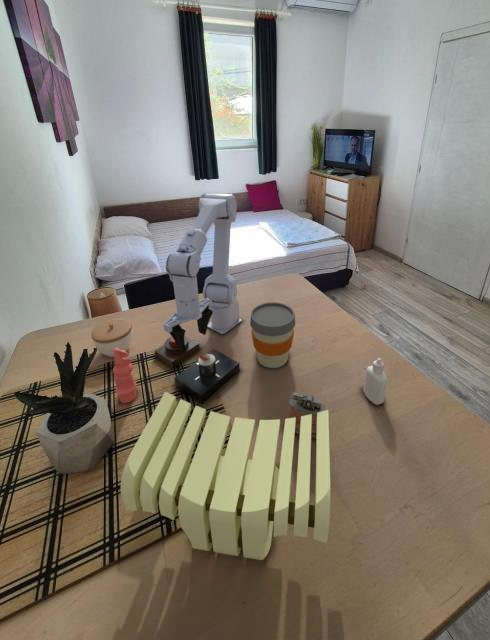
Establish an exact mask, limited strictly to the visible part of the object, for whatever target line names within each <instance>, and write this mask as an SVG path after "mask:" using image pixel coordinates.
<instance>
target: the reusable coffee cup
mask: <svg viewBox="0 0 490 640" xmlns="http://www.w3.org/2000/svg"><path fill="white" fill-rule="evenodd" d="M249 325H250V327H251V330H250V332H251V338H252V344H253V348H254V349H255V352H256V358H257V361H258V363H259V364H260V365H261V366H263V367H266V368H268V369H276V368H280V367H283V366H284V365H285V364H286V363H287V362H288V360H289V354H290V351H291V348H292V346H293V340H294V335H295V329H294V328H295V327H296V314H295V310H294V309H293V308H292V307H291V306H289V305H287V304H285V303H282V302H276V301H270V302H264V303H260V304H258V305H256V306H255V307H254V308H253V309H252V310H251V312H250V319H249Z"/></svg>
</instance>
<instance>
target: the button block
mask: <svg viewBox="0 0 490 640" xmlns="http://www.w3.org/2000/svg"><path fill="white" fill-rule="evenodd" d="M184 342H185V349H183V350H181V349H180V348H178V347H172V346H171V345H170V337H168V338H167V339H166V340H165V342H164V344H163V345H161V346H160V347H158V348H157V349H155V350H154V357H155V358H157V359H158V360H160V361H161V362H163V363H165V364H166V365H167V366H169V367H170V368H172V369H174V368H175V367H177V366H178V365H180V364H181V363H182V362H184V361H185V360H187V359H188V358H189V357H190V356H192V355H193V354H195V353H196V352H197V351H199V350H200V343H199V342H198V341H196V340H194V339H193V338H190V336H189V337H188V336H187V335H185V336H184Z"/></svg>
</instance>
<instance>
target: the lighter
mask: <svg viewBox="0 0 490 640" xmlns="http://www.w3.org/2000/svg"><path fill="white" fill-rule="evenodd" d="M288 405H289V418H295V417H296V423H295V434H298V435H300V424H301V416H305V415H310V414H312V423H311V439H316V433H317V413H318V412H322V411H325V410H327V407H326V406H325V404H323V403H322V400H321V399H320V398H317V397H314V395H313V394H311V393H308V394H303V393H299V392H293V393H292V397H291V398H289V401H288Z"/></svg>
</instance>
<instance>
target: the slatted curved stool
mask: <svg viewBox="0 0 490 640" xmlns="http://www.w3.org/2000/svg"><path fill="white" fill-rule="evenodd" d="M191 411H192V404H191V403H190V402H188V401H186V400H184V399H181V398H180V399H179V402H178V403H177V396H175V395H174V394H172V393H170V392H168V391H164V393H163V395H162V397H161V398H160V400H159V402H158V403H157V406H156V407H155V409H154V411H153V413H152V414H151V416H150V418H149V419H148V421H147V423H146V426H145V427H144V428H143V430H142V431H141V434H140V436H139V437H138V439H137V441H136V443H135V444H134V446H133V447H132V450H131V452H130V454H129V455H128V457H127V460H126V462H125V464H124V468H123V472H122V475H121V479H120V496H121V499H122V503H123V505H124V509H125V512H126V511H133V512H134V511H135V512H136V511H137V512H138V510H139V507H140V506H141V510H142V512H147V513H153V514H155V513H156V511H157V509H158V507H159V512H160V515H161V516H163V517H166V518H168V519H170V520H172V521H175V519H176V516H177V513H178V520H179V525H180V528H181V529H182V531H183V532H184V533H185V535H186V536H187V538H188V540H189V542H190V544H191V548H192V549H194V550H201V551H206V552H210V551H211V550H213V552H214V553H217V554H222V555H228V556H235V557H239V556H240V553H241V551H242V557H243V558H246V559H252V560H256V561H257V560H258V561H263V560H264V559H265V558H266V557H267V556H268V554H269V552H270V549H271V545H272V540H273V539H272V538H275V537H281V536H288V528H289V525H293V537H301V538H306V539H307V538H308V529H309V528H313V540H315V541H318V542H322V543H325V544H328V540H329V539H328V538H329V531H330V521H331V455H330V454H331V453H330V419H329V416H330V415H329V409H326V410H325V411H322V412H318V413H317V433H316V438H315V439H316V440H315V482H314V483H315V485H314V504H310V491H311V490H310V487H311V451H312V438H311V423H312V414H310V415H305V416H301V424H300V434H299V441H298V455H297V456H298V457H297V470H296V471H297V472H296V489H295V502H294V501H291V488H292V476H293V475H292V474H293V462H294V448H295V447H294V446H295V436H296V435H295V434H296V432H295V423H296V417H295V418H290V417H287V418H285V419H284V427H283V434H282V435H283V436H282V444H281V453H280V460H279V468H278V466H277V465H276V464H277V455H278V446H279V438H280V431H281V419H280V418H279V419H259V423H258V428H257V432H256V433H257V434H256V437H255V443H254V448H253V453H252V458H251V459H249V456H250V451H251V446H252V442H253V441H252V440H253V436H254V431H255V426H256V419H252V418H243V417H235V418H234V421H233V423H232V427H231V430H230V434H229V437H228V442H227V446H226V448H225V453H224V455H222V453H223V450H224V447H225V442H226V439H227V435H228V431H229V428H230V425H231V421H232V420H231V419H232V418H231V416H230V415H227V414H222V413H218V412H216V411H212V410H210V412H209V414H208V416H207V409H206V408H203V407H201V406H198V405H195V407H194V409H193V411H192V413H191ZM190 413H191V415H190ZM189 416H190V418H189ZM206 416H207V420H206V423H205V426H204V428H203V431H202V426H203V424H204V421H205V418H206ZM188 418H189V420H188ZM187 421H188V423H187ZM186 423H187V425H186ZM185 426H186V428H185ZM184 429H185V430H184ZM201 431H202V433H201ZM200 433H201V436H200V439H199V442H198V444H197V441H198V438H199V435H200ZM181 435H182V437H181ZM180 438H181V439H180ZM179 440H180V441H179ZM196 444H197V447H196ZM195 447H196V450H195ZM194 450H195V452H194ZM193 453H194V455H193ZM192 457H193V458H192Z"/></svg>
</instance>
